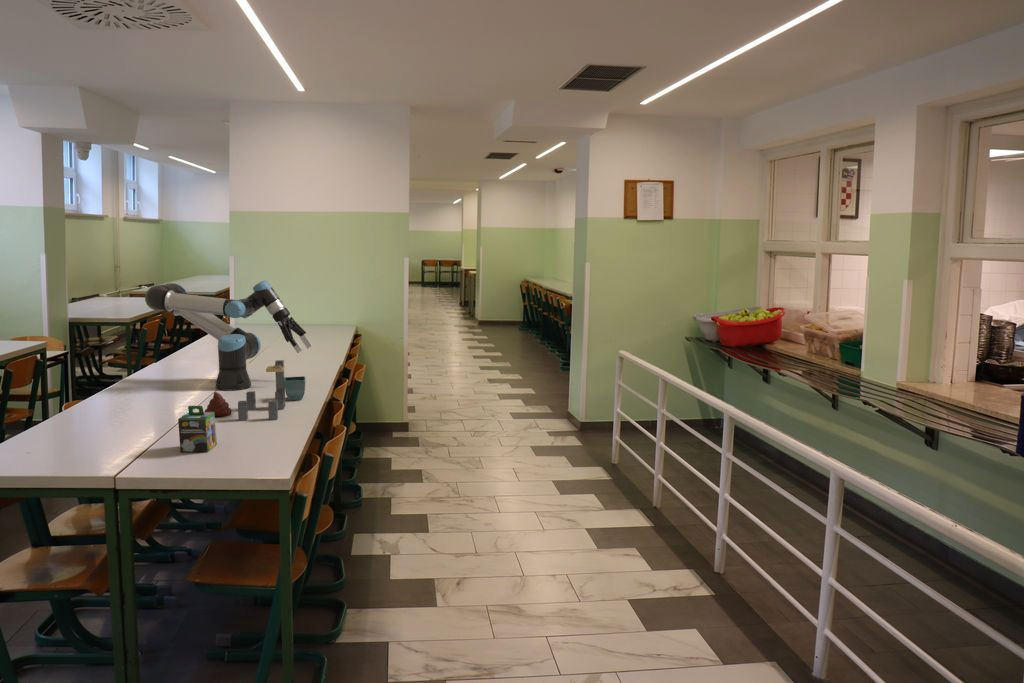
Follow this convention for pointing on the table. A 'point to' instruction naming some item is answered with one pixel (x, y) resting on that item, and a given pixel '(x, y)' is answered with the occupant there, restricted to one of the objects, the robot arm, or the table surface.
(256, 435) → the table surface
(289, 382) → the flower pot
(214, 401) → the poop emoji
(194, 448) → the chalk box
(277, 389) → the sight ring stand
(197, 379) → the table surface
